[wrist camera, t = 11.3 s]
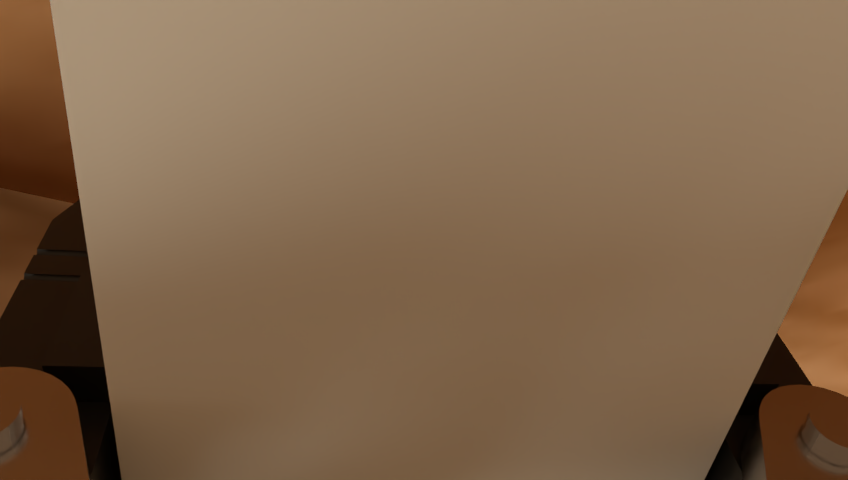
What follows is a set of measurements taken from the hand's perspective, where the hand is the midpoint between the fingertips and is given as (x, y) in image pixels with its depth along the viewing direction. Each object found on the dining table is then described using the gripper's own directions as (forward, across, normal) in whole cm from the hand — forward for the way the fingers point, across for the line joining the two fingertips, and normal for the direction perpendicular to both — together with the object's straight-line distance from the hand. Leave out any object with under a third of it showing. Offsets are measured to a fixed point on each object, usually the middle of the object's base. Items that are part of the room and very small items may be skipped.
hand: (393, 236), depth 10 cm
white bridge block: (+4, 0, 0) cm, 4 cm away
